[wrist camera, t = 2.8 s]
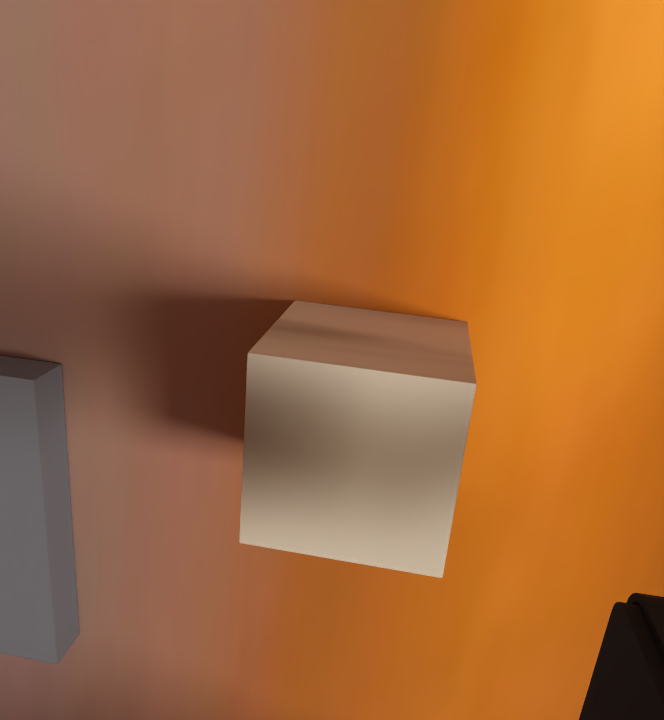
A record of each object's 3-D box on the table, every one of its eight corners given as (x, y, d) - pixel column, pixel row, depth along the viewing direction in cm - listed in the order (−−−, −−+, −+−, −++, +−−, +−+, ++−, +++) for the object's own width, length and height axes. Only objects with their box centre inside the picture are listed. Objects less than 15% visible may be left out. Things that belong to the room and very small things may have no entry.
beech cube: (441, 474, 20) (441, 577, 15) (285, 450, 20) (239, 542, 16) (467, 321, 18) (476, 384, 13) (295, 299, 19) (247, 352, 14)
